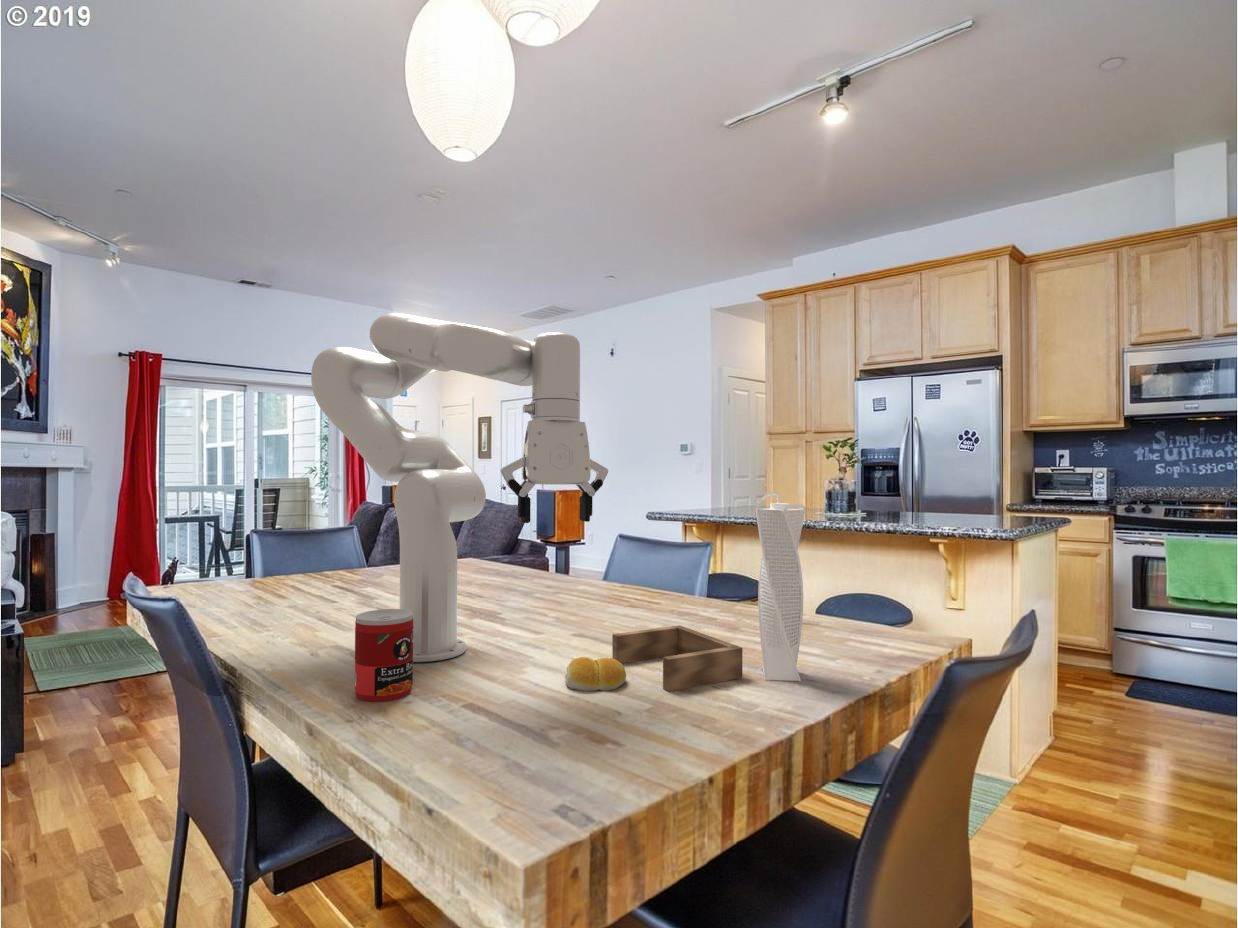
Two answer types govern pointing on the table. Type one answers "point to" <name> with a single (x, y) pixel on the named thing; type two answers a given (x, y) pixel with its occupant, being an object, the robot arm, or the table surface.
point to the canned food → (383, 654)
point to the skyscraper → (780, 588)
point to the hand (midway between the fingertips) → (555, 521)
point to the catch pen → (681, 655)
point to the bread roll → (595, 674)
